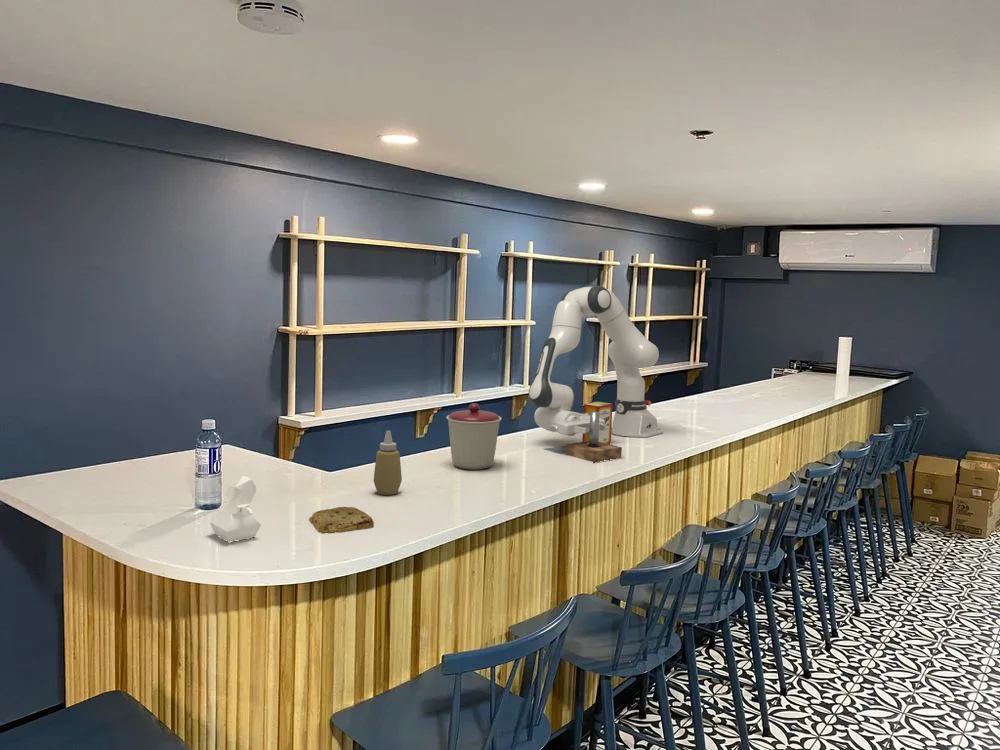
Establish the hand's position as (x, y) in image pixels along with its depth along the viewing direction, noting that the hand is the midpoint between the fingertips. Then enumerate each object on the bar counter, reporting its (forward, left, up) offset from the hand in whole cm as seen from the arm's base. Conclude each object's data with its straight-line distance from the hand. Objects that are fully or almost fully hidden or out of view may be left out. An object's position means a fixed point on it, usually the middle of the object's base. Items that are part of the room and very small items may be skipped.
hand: (596, 429), depth 279 cm
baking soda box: (-17, -16, -10) cm, 25 cm away
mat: (+2, -14, -10) cm, 17 cm away
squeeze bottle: (+85, +1, -10) cm, 86 cm away
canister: (+45, -12, -10) cm, 48 cm away
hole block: (0, -1, -10) cm, 10 cm away
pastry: (+109, +19, -11) cm, 111 cm away
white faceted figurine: (+134, +15, -10) cm, 135 cm away
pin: (0, -1, -10) cm, 10 cm away
